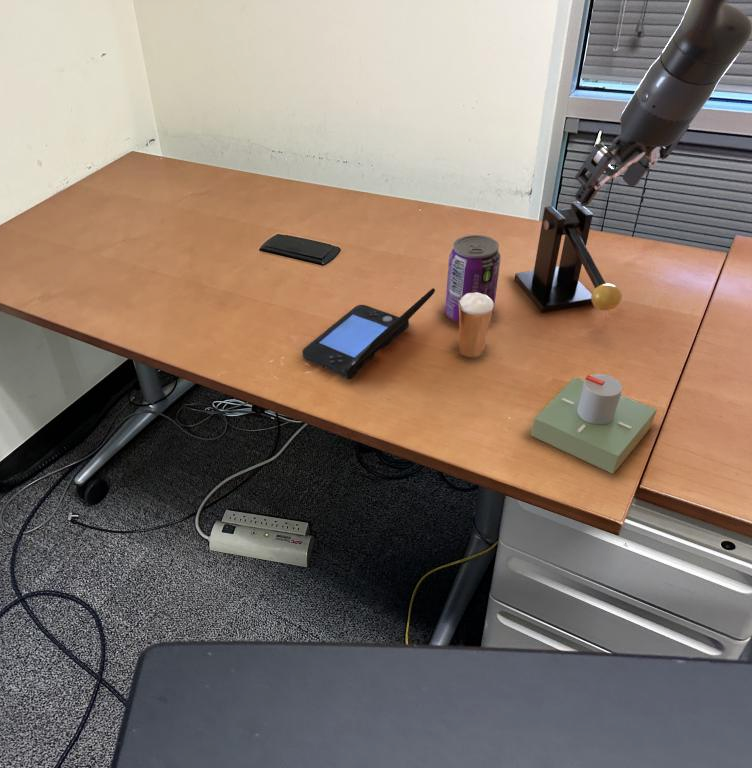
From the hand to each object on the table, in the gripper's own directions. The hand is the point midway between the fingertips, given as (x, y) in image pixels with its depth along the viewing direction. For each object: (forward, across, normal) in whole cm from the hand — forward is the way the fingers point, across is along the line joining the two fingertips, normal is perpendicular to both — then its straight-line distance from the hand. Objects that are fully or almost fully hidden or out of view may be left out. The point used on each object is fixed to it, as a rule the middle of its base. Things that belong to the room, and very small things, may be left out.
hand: (605, 191), depth 97 cm
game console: (+15, -37, -1) cm, 40 cm away
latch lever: (+5, -7, -7) cm, 11 cm away
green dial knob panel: (+4, -24, -28) cm, 37 cm away
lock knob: (+1, -23, -27) cm, 36 cm away
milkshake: (+12, -26, -9) cm, 30 cm away
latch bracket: (+15, -5, -5) cm, 17 cm away
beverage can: (+15, -20, -3) cm, 25 cm away
